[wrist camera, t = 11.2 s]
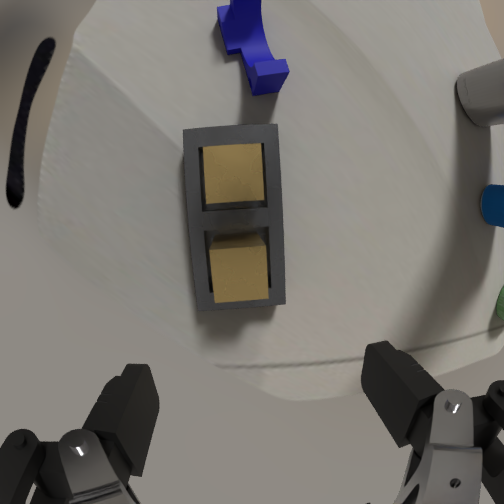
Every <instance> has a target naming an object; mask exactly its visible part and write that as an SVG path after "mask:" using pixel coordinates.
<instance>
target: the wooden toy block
mask: <svg viewBox="0 0 504 504" xmlns="http://www.w3.org/2000/svg"><path fill="white" fill-rule="evenodd" d="M209 252H210V263H211V272H212V282H213V291H214V300H215V303H221V302H234V301H246V300H258V299H269V296H268V276H267V256H266V245H265V244H264V242H263V241H262V239H261V238H260V236H259V235H258V233H257V232H244V233H231V234H218V235H215V236H214V238H213V241H212V244H211V247H210V249H209Z"/></svg>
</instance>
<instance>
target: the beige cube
mask: <svg viewBox="0 0 504 504" xmlns="http://www.w3.org/2000/svg"><path fill="white" fill-rule="evenodd" d="M203 158H204V176H205V192H206V204H211V203H224V202H238V201H255V200H264V186H263V169H262V152H261V143H256V144H236V145H220V146H208V147H203Z"/></svg>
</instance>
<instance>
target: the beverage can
mask: <svg viewBox="0 0 504 504" xmlns="http://www.w3.org/2000/svg"><path fill="white" fill-rule="evenodd" d="M481 211H482V214H483V217H484V220H485V221H486V222H487V223H488V224H490V225H494V226H499V227H503V228H504V185H492V184H490V185H488V186H487V187H486V188H485V189H484V191H483V194H482V197H481Z"/></svg>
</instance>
